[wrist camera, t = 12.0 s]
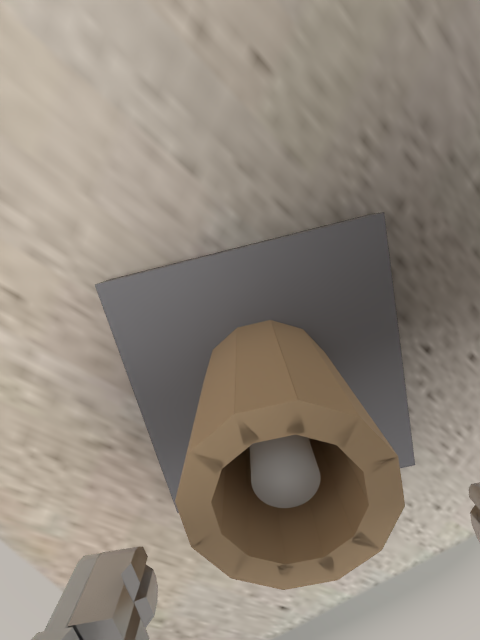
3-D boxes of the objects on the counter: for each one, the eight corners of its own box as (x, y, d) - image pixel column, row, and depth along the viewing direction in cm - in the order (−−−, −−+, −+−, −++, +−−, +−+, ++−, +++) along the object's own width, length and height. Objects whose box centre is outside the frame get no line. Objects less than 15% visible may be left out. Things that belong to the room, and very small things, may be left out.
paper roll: (316, 309, 16) (388, 380, 8) (337, 420, 18) (413, 566, 10) (191, 338, 16) (149, 432, 9) (223, 444, 18) (211, 602, 10)
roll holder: (371, 214, 16) (503, 196, 8) (402, 448, 20) (516, 599, 12) (107, 280, 17) (-14, 324, 9) (182, 493, 21) (144, 663, 13)
